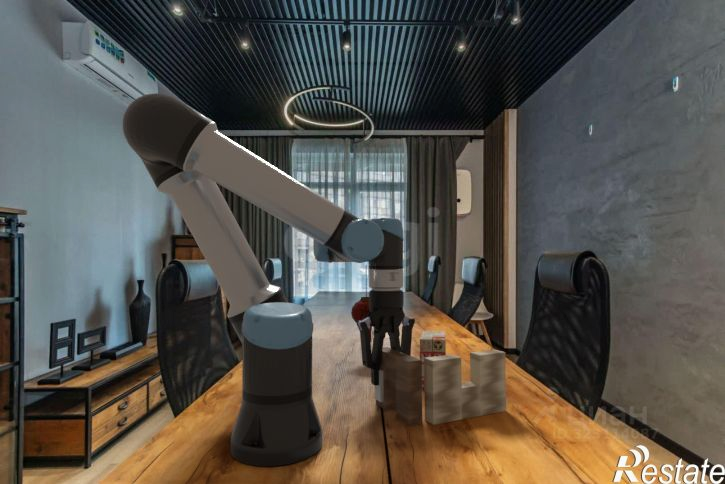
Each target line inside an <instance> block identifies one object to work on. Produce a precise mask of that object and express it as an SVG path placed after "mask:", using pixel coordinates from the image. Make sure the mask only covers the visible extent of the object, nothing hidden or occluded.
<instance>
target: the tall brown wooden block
mask: <svg viewBox="0 0 725 484" xmlns="http://www.w3.org/2000/svg"><path fill="white" fill-rule="evenodd" d="M380 369H381V370H383V386H384V402H379V401H378V400H376V399H375V404H376V405H377V406H378V407H380V408H381V409H383V410H384V411H391V410H396V419H397V420H399V421H401V422H402V423H403V424H405V425H406V426H409V427H411V426H416V425H417V426H418V425H421V424H423V388H422V360H420V358H417V357H414V356H412V355H411V356H410V355H407V354H404V353H402V352H399V351H397V350H394V349H391V347H388V346H385V347H383V349H382V357H381V365H380Z"/></svg>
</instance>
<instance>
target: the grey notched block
mask: <svg viewBox="0 0 725 484" xmlns="http://www.w3.org/2000/svg"><path fill="white" fill-rule="evenodd" d="M469 366H470V367H469V369H470V371H469V372H470V373H469V374H470V379H469V380H470V381H466V382H462V357H460V356H457V355H454V354H446V355H444V356H435V357H426V358H424V388H423V389H424V420H425V421H426V422H428V423H430V424H431V425H433V426H434V425H441V424H445V423H450V422H455V421H459V420H460V421H461V420H465V419H472V418H477V417H481V416H485V415H487V416H488V415H490V414H491V415H492V414H496V413H502V412H506V411H507V390H506V389H507V388H506V387H507V385H506V384H507V382H506V381H507V379H506V373H507V371H506V352H505V351H503V350H502V351H501V350H498V349H489V350H480V351H471V352H469Z"/></svg>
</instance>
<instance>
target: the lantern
mask: <svg viewBox="0 0 725 484" xmlns="http://www.w3.org/2000/svg"><path fill="white" fill-rule="evenodd" d="M367 286H368V285H367V264H365V296H361V297H360V299H359V300H358V301H356V302H355V303H354V305H353V306H352V307H351V312H350V313H351V318H352V319H353V321H354V322H355V323H356V324H357V321H359V320H360V321H362V320H364V319H365V318H367V316H368V313H369V310H370V308H369V296H368V294H367V293H368V291H367V288H368V287H367ZM372 329H373V326H372V324H371V323H370V328H369V332H370V341H371V343H373V340H372Z"/></svg>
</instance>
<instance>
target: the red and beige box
mask: <svg viewBox="0 0 725 484" xmlns="http://www.w3.org/2000/svg"><path fill="white" fill-rule="evenodd" d="M446 340H447V339H446V331H444V330H422V334H421V336H420V338H419V359H420V360H422V389H424V358H426V357H435V356H444V355H447V349H446V348H447V347H446V344H447V343H446V342H447V341H446Z"/></svg>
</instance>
